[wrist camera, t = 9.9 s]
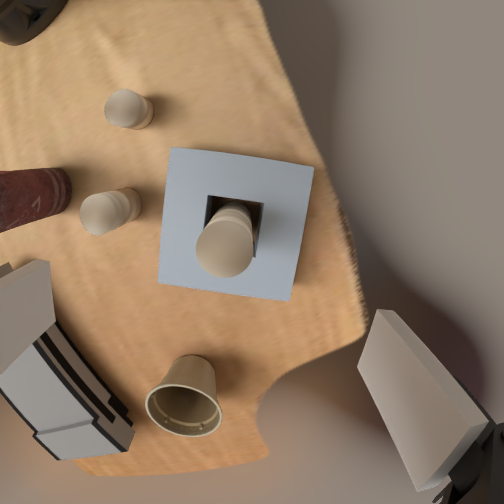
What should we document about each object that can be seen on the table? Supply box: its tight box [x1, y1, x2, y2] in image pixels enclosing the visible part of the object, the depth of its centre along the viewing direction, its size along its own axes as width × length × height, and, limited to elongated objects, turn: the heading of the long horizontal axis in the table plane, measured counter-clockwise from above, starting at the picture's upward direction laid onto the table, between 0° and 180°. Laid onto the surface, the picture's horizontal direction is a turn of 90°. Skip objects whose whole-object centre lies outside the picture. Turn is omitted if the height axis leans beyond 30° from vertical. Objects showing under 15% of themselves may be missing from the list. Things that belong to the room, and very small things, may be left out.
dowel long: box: [196, 201, 253, 278], centre depth 28 cm, size 4×4×14 cm
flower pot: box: [145, 355, 222, 437], centre depth 36 cm, size 9×9×9 cm
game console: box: [0, 262, 135, 460], centre depth 37 cm, size 21×32×8 cm, turn 29°
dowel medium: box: [80, 188, 142, 235], centre depth 30 cm, size 4×4×8 cm
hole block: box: [158, 147, 314, 301], centre depth 32 cm, size 14×14×5 cm
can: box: [0, 168, 71, 233], centre depth 26 cm, size 6×6×14 cm
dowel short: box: [104, 89, 154, 130], centre depth 29 cm, size 4×4×5 cm
